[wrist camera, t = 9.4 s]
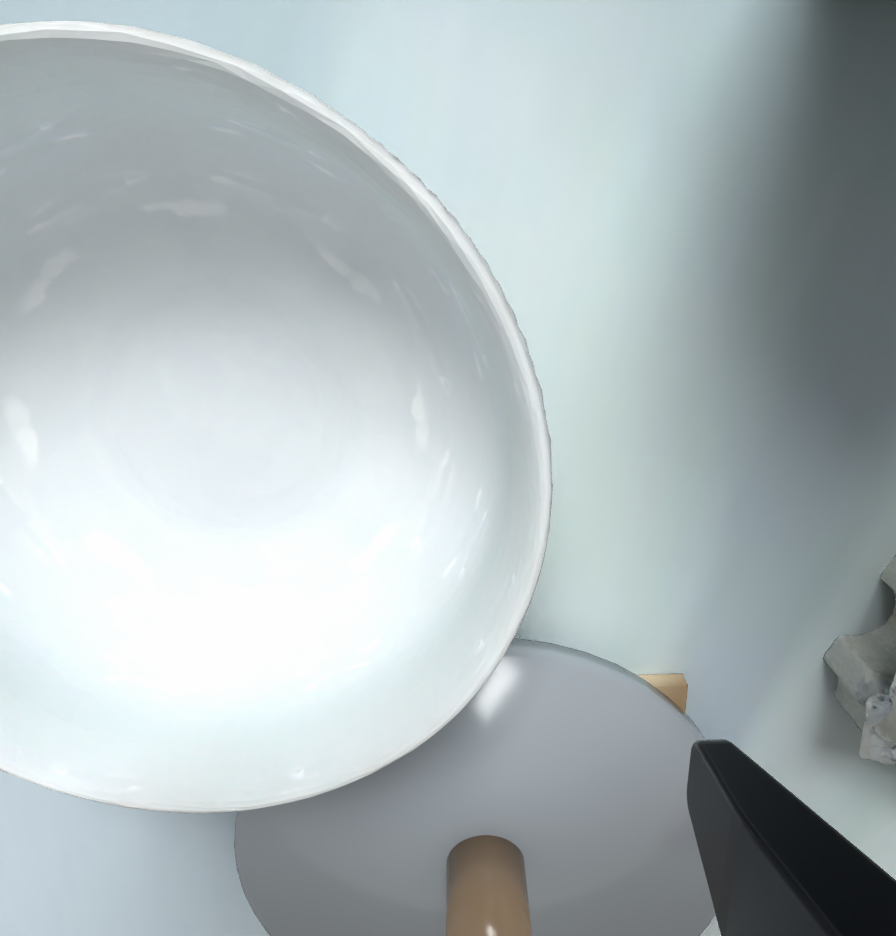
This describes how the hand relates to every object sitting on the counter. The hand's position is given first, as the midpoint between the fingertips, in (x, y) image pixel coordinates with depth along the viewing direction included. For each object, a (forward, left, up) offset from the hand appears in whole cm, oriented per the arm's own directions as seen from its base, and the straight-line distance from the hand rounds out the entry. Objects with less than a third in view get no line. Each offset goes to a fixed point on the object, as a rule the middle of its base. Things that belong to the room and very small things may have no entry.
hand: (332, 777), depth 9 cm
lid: (-2, +16, -12) cm, 20 cm away
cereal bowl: (+5, -1, -13) cm, 14 cm away
